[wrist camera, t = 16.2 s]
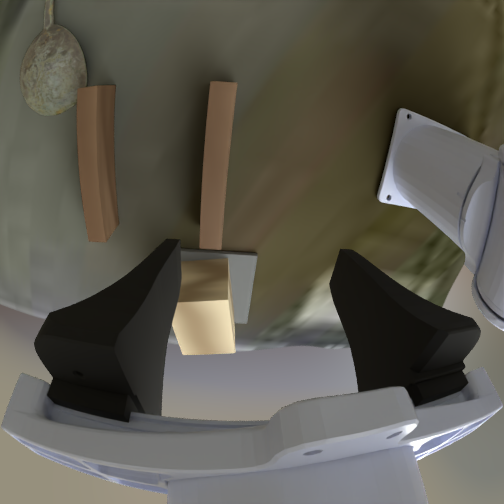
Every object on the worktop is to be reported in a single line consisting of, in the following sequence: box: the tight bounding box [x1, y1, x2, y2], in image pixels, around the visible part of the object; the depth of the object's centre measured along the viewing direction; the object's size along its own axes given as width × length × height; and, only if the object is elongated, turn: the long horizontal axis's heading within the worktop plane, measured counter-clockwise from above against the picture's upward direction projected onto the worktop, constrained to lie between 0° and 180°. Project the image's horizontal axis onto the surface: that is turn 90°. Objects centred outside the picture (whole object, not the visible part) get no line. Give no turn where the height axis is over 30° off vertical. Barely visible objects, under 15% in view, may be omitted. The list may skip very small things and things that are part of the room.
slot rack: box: [77, 81, 237, 250], centre depth 17 cm, size 10×11×3 cm
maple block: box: [172, 258, 235, 355], centre depth 22 cm, size 4×6×5 cm
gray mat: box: [180, 248, 257, 323], centre depth 25 cm, size 8×8×1 cm
